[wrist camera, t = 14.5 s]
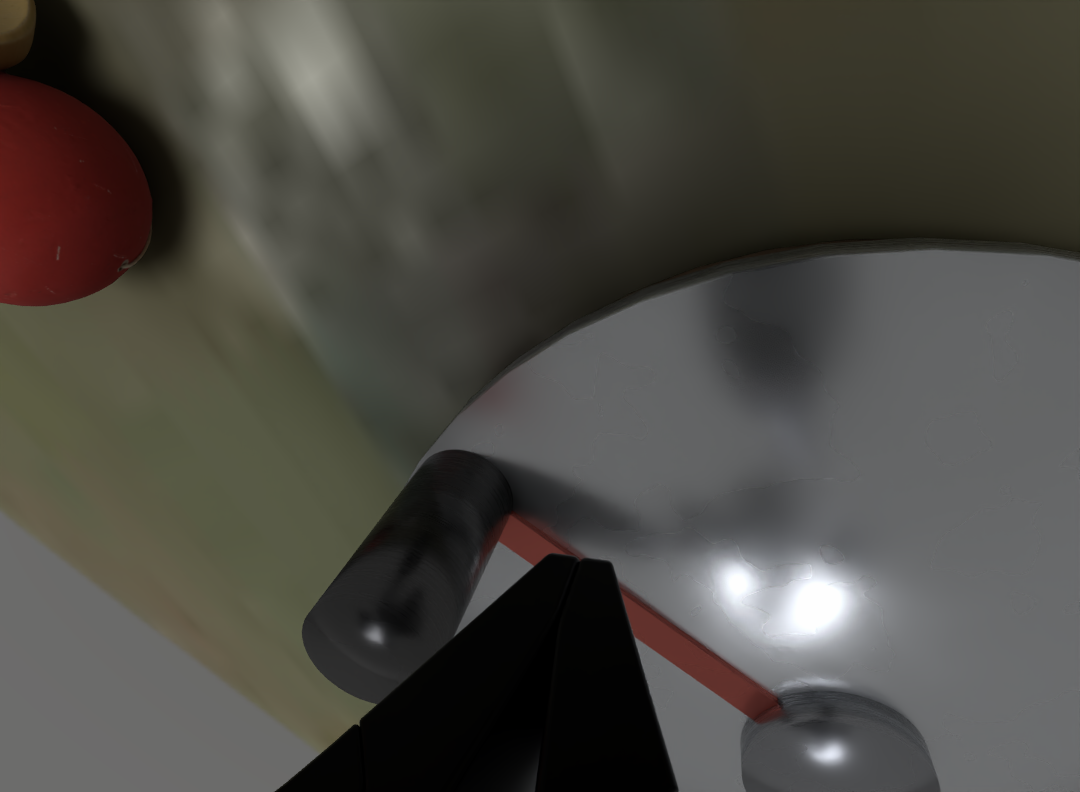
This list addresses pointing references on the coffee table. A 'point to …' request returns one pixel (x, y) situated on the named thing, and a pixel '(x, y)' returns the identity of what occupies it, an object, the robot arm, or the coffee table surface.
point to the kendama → (61, 186)
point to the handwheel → (781, 515)
